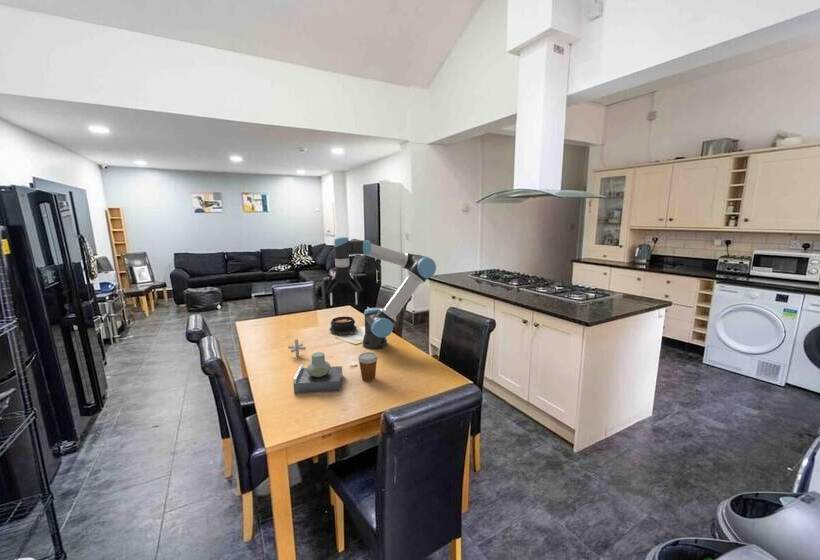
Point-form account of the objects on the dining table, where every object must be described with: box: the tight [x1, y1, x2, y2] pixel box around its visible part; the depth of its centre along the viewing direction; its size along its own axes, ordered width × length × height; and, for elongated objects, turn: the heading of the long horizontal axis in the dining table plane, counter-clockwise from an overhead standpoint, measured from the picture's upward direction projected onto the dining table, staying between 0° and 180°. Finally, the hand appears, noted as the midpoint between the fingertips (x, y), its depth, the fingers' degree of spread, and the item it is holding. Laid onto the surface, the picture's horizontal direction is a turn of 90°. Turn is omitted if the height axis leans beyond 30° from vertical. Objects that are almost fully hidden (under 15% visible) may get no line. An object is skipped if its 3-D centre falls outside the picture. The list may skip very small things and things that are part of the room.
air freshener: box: [306, 351, 332, 377], centre depth 163 cm, size 11×8×10 cm
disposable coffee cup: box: [357, 352, 379, 383], centre depth 169 cm, size 10×10×12 cm
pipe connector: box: [287, 338, 307, 357], centre depth 198 cm, size 10×10×10 cm
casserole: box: [329, 316, 358, 335], centre depth 241 cm, size 25×19×8 cm
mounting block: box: [292, 363, 343, 395], centre depth 165 cm, size 20×16×7 cm
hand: (344, 304), depth 191 cm, fingers open, 13 cm apart
